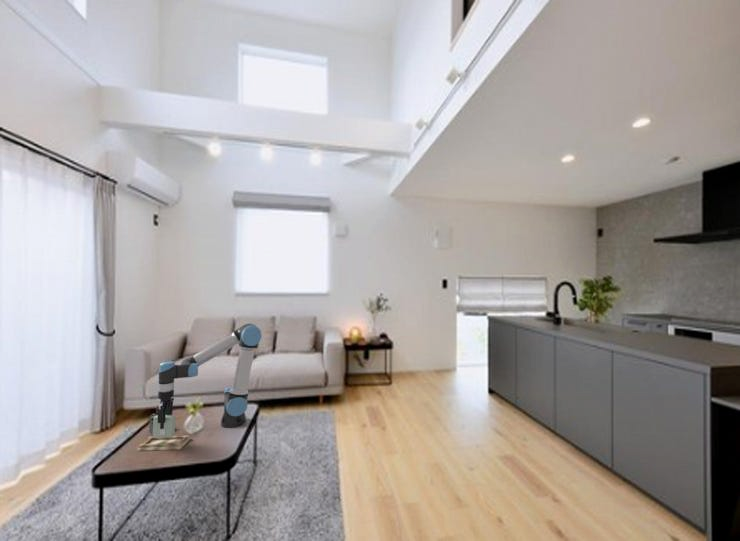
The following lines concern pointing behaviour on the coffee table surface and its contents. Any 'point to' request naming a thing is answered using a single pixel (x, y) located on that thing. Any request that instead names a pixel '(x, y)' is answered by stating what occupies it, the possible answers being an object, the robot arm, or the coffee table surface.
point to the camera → (151, 424)
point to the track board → (164, 443)
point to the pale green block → (169, 427)
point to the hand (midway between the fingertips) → (164, 432)
